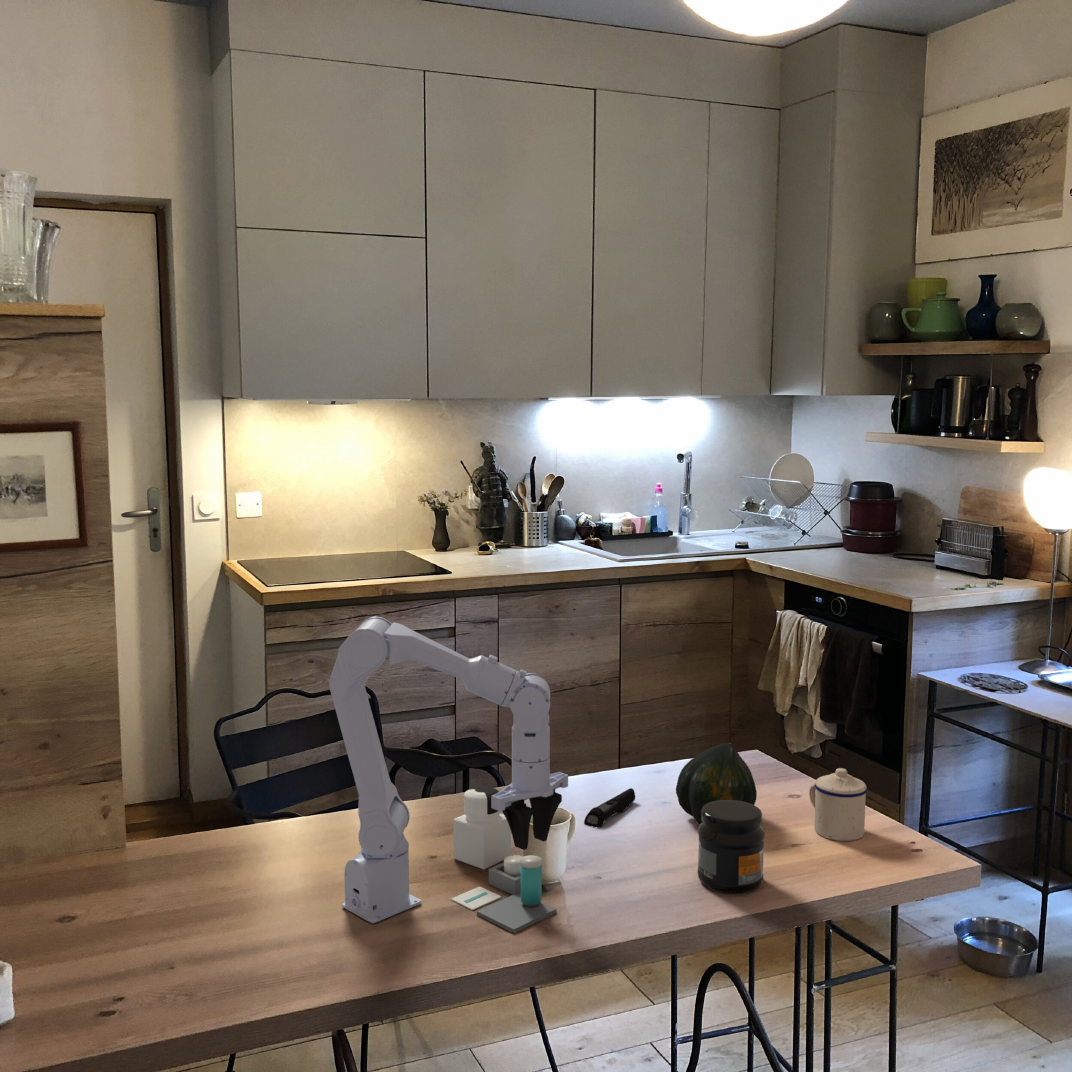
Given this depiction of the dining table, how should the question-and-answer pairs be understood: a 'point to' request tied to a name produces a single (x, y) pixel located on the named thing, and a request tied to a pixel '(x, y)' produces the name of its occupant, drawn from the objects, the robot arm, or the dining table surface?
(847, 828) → the teacup with lid
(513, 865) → the button
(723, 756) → the squash
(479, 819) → the medicine bottle
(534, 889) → the marker
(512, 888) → the button box
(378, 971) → the dining table surface
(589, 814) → the electric trimmer
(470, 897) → the card
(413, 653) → the robot arm
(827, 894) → the dining table surface
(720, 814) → the supplement container
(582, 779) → the dining table surface
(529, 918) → the board
